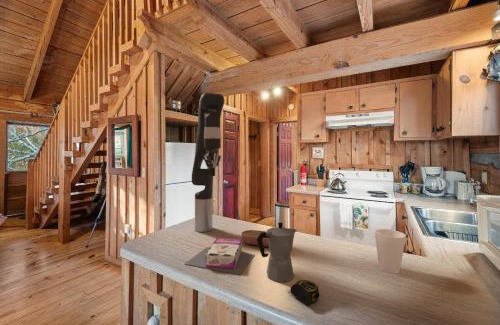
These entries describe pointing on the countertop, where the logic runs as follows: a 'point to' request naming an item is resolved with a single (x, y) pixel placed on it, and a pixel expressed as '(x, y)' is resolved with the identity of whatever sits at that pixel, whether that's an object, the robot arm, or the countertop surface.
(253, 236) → the anatomical model
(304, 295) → the tape measure
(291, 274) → the coffeepot
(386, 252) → the foam cup
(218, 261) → the candy bar box
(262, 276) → the countertop surface
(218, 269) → the mat
